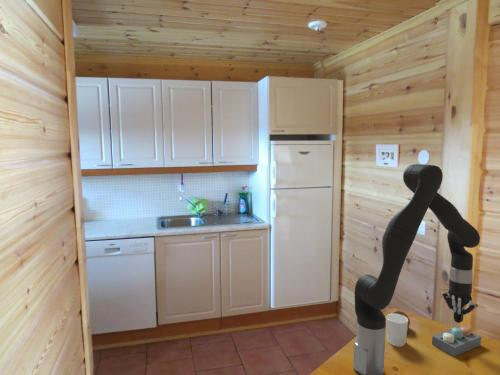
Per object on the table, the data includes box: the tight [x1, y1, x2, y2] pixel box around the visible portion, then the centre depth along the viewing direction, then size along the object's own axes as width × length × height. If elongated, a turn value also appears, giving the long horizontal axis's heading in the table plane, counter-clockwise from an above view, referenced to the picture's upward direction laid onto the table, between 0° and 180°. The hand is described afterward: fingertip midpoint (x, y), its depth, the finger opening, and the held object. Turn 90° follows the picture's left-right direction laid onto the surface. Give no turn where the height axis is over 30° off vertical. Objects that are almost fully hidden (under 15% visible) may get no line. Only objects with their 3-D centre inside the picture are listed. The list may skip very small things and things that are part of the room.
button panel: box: [431, 325, 482, 357], centre depth 137 cm, size 16×9×4 cm, turn 116°
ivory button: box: [443, 333, 454, 344], centre depth 134 cm, size 4×4×4 cm
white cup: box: [385, 312, 409, 347], centre depth 139 cm, size 8×8×10 cm
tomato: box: [393, 310, 411, 330], centre depth 149 cm, size 8×8×7 cm
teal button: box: [451, 326, 463, 341], centre depth 136 cm, size 4×4×4 cm
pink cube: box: [460, 326, 472, 337], centre depth 139 cm, size 4×4×4 cm
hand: (458, 321), depth 136 cm, fingers closed
